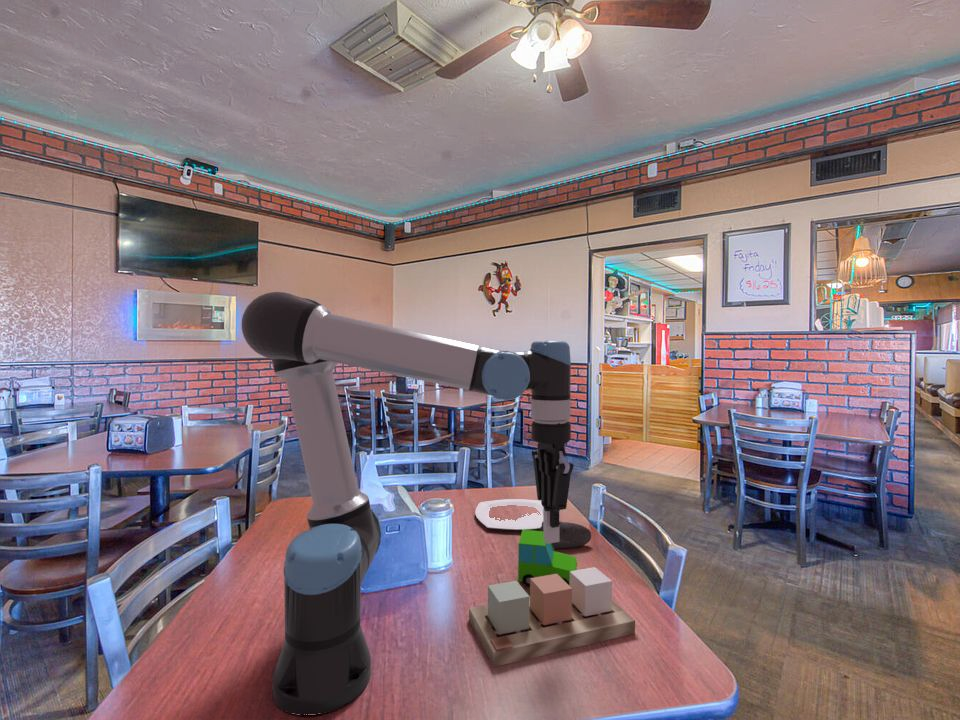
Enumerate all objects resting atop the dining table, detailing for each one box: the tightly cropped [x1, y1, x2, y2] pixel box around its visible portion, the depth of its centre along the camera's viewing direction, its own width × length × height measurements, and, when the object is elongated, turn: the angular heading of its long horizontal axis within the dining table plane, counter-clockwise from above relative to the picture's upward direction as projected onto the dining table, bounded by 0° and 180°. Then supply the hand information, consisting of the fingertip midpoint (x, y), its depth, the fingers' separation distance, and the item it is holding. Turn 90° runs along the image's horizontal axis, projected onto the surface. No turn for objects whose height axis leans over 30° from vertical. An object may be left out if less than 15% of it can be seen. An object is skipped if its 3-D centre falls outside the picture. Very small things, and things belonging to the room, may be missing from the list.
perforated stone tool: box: [539, 521, 592, 549], centre depth 124 cm, size 15×5×7 cm, turn 94°
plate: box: [474, 498, 561, 531], centre depth 145 cm, size 27×27×2 cm
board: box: [468, 597, 636, 668], centre depth 88 cm, size 29×14×3 cm, turn 109°
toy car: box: [517, 529, 578, 588], centre depth 106 cm, size 10×13×10 cm
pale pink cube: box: [570, 566, 613, 617], centre depth 91 cm, size 6×6×6 cm
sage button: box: [487, 580, 530, 636], centre depth 85 cm, size 6×6×6 cm
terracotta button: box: [529, 574, 572, 626], centre depth 88 cm, size 6×6×6 cm
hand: (551, 541), depth 87 cm, fingers closed
